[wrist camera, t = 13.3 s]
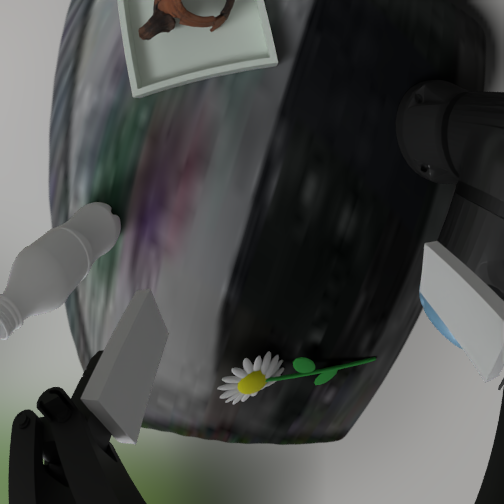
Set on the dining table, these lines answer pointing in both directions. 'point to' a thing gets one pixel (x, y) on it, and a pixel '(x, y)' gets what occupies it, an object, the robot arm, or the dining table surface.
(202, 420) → the dining table surface
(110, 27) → the dining table surface
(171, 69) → the tray
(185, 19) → the broken clay pot
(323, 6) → the dining table surface
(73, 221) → the water bottle
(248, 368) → the decorative flower
